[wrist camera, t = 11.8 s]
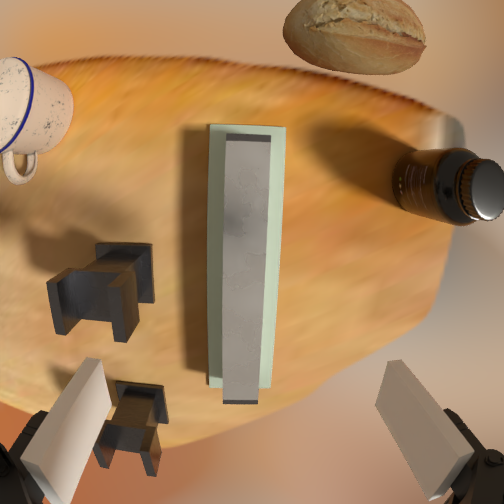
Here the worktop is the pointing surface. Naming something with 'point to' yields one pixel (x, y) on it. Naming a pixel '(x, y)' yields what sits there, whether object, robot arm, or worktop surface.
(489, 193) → the supplement bottle
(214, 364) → the mat
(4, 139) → the teacup with lid
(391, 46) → the bread roll
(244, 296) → the rail
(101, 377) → the robot arm
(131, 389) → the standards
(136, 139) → the worktop surface
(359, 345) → the worktop surface
